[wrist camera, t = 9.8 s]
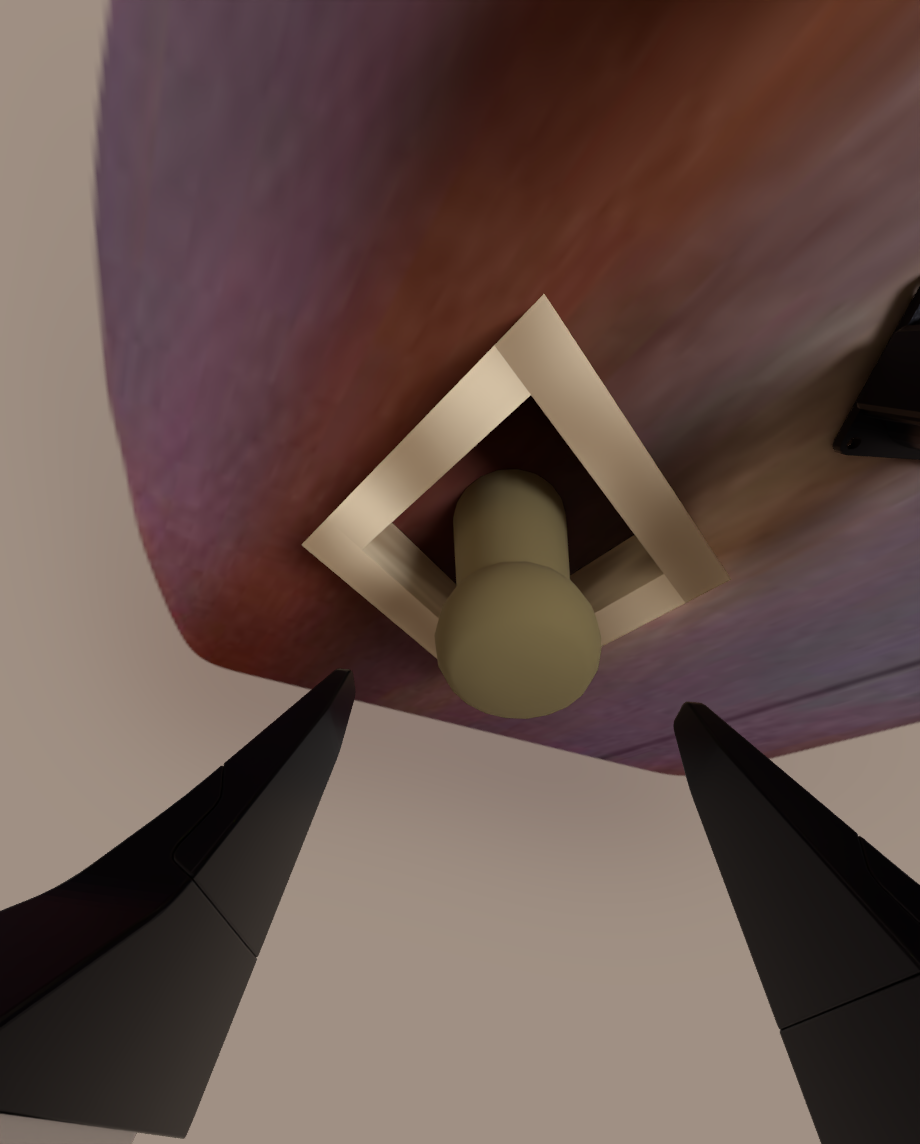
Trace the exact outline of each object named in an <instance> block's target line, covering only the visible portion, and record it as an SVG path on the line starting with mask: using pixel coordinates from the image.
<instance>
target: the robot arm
mask: <svg viewBox="0 0 920 1144" xmlns="http://www.w3.org/2000/svg"><path fill="white" fill-rule="evenodd" d="M852 438H854V439H853V442H852V443H851V444H850V445H849V446H847V443H848V442H849V441H850V440H851V439H852ZM833 449H834V450H835V452H838V453H841V454H845V455H854V456H870V457H886V458H903V459H919V460H920V287H919V289H918V290H917V292H916V294H915V296H914V298H913V299H912V301H911V303H910V305H909V307H908V308H907V310H906V312H905V314H904V316H903V317H902V319H901V321H900V323H899V325H898V327H897V328H896V330H895V332H894V334H893V336H892V337H891V339H890V341H889V343H888V345H887V346H886V348H885V350H884V352H883V354H882V355H881V357H880V359H879V361H878V363H877V364H876V366H875V368H874V370H873V372H872V373H871V375H870V377H869V379H868V381H867V382H866V384H865V386H864V388H863V390H862V392H861V393H860V395H859V397H858V399H857V401H856V402H855V404H854V406H853V408H852V410H851V411H850V413H849V415H848V417H847V419H846V420H845V422H844V424H843V426H842V428H841V429H840V431H839V433H838V435H837V437H836V438H835V440H834V443H833ZM354 698H355V684H354V678H353V672H352V671H351V670H349V669H336V670H334V671H333V672H332V673H331V674H330V675H328V676H327V677H326V678H325V679H324V680H323V681H321V682H320V683H319V684H318V685H317V686H315V687H314V688H313V689H312V690H311V691H309V692H308V693H307V694H306V695H305V696H304V697H302V698H301V699H300V700H299V701H298V702H296V703H295V704H294V705H293V706H292V707H291V708H289V709H288V710H287V711H286V712H285V713H283V714H282V715H281V716H280V717H279V718H277V719H276V720H275V721H274V722H273V723H272V724H270V725H269V726H268V727H267V728H266V729H264V730H263V731H262V732H261V733H260V734H258V735H257V736H256V737H255V738H254V739H252V740H251V741H250V742H249V743H248V744H247V745H245V746H244V747H243V748H242V749H241V750H239V751H238V752H237V753H236V754H235V755H233V756H232V757H231V758H230V759H229V760H228V761H226V762H225V763H224V766H220V767H219V768H218V769H217V770H216V771H214V772H213V773H212V774H211V775H210V776H209V777H207V778H206V779H205V780H204V781H202V782H201V783H200V784H199V785H197V786H196V787H195V788H194V789H192V790H191V791H190V792H189V793H188V794H186V795H185V796H184V797H182V798H181V799H180V800H178V801H177V802H176V803H174V804H173V805H172V806H171V807H169V808H168V809H167V810H165V811H164V812H163V813H161V814H160V815H159V816H157V817H156V818H155V819H153V820H152V821H151V822H149V823H148V824H146V825H145V826H144V827H142V828H141V829H140V830H138V831H137V832H135V833H134V834H133V835H131V836H130V837H128V838H127V839H126V840H124V841H123V842H122V843H120V844H119V845H118V846H116V847H115V848H113V849H112V850H111V851H109V852H108V853H107V854H105V855H104V856H103V857H101V858H100V859H98V860H97V861H96V862H94V863H93V864H91V865H90V866H89V867H87V868H86V869H84V870H83V871H81V872H80V873H78V874H77V875H75V876H74V877H72V878H70V879H69V880H67V881H65V882H64V883H62V884H60V885H58V886H57V887H55V888H53V889H51V890H49V891H47V892H45V893H43V894H41V895H39V896H36V897H34V898H31V899H29V900H26V901H24V902H22V903H19V904H16V905H14V906H11V907H9V908H6V909H4V910H2V911H0V1144H132V1142H133V1140H134V1138H135V1136H136V1134H137V1132H138V1133H145V1134H152V1135H160V1136H167V1137H174V1138H182V1139H184V1138H185V1137H186V1135H187V1133H188V1130H189V1128H190V1126H191V1123H192V1121H193V1118H194V1116H195V1114H196V1111H197V1109H198V1106H199V1104H200V1101H201V1098H202V1096H203V1093H204V1091H205V1088H206V1086H207V1083H208V1081H209V1078H210V1076H211V1073H212V1071H213V1068H214V1066H215V1063H216V1061H217V1058H218V1056H219V1053H220V1051H221V1048H222V1046H223V1043H224V1041H225V1038H226V1036H227V1033H228V1031H229V1028H230V1025H231V1023H232V1021H233V1018H234V1016H235V1013H236V1010H237V1008H238V1006H239V1003H240V1000H241V998H242V995H243V993H244V991H245V988H246V986H247V983H248V980H249V978H250V976H251V973H252V971H253V968H254V966H255V963H256V960H257V958H256V957H258V955H259V953H260V950H261V947H262V945H263V943H264V940H265V938H266V935H267V933H268V930H269V927H270V925H271V923H272V920H273V917H274V915H275V912H276V910H277V907H278V905H279V902H280V900H281V897H282V895H283V892H284V890H285V887H286V885H287V882H288V880H289V877H290V874H291V872H292V870H293V867H294V865H295V862H296V860H297V857H298V855H299V852H300V850H301V847H302V845H303V842H304V840H305V837H306V835H307V832H308V830H309V827H310V825H311V822H312V819H313V817H314V815H315V812H316V810H317V807H318V805H319V802H320V800H321V797H322V795H323V792H324V789H325V787H326V784H327V782H328V780H329V777H330V775H331V772H332V770H333V767H334V764H335V762H336V760H337V757H338V754H339V751H340V748H341V745H342V741H343V738H344V734H345V731H346V727H347V724H348V720H349V716H350V713H351V709H352V706H353V702H354ZM674 732H675V736H676V740H677V744H678V748H679V751H680V755H681V759H682V763H683V767H684V770H685V774H686V778H687V781H688V785H689V788H690V791H691V794H692V797H693V800H694V803H695V805H696V808H697V811H698V813H699V816H700V819H701V821H702V824H703V826H704V829H705V832H706V835H707V837H708V840H709V843H710V845H711V848H712V851H713V854H714V856H715V859H716V862H717V864H718V867H719V870H720V872H721V875H722V877H723V880H724V883H725V885H726V888H727V891H728V894H729V896H730V899H731V902H732V905H733V907H734V910H735V913H736V915H737V918H738V921H739V923H740V926H741V929H742V931H743V934H744V937H745V939H746V942H747V945H748V947H749V950H750V953H751V956H752V958H753V961H754V964H755V966H756V969H757V972H758V974H759V977H760V980H761V982H762V985H763V988H764V990H765V993H766V996H767V999H768V1001H769V1004H770V1007H771V1009H772V1012H773V1014H774V1017H775V1020H776V1023H777V1025H778V1027H779V1029H780V1034H781V1037H782V1040H783V1042H784V1044H785V1047H786V1050H787V1053H788V1055H789V1058H790V1061H791V1064H792V1066H793V1069H794V1072H795V1074H796V1077H797V1080H798V1082H799V1085H800V1088H801V1090H802V1093H803V1096H804V1099H805V1101H806V1104H807V1107H808V1109H809V1112H810V1114H811V1117H812V1120H813V1123H814V1125H815V1128H816V1131H817V1133H818V1136H819V1139H820V1142H821V1144H920V885H919V884H918V883H917V882H915V881H914V880H913V879H912V878H910V877H909V876H908V875H907V874H906V873H904V872H903V871H902V870H901V869H899V868H898V867H897V866H896V865H895V864H893V863H892V862H891V861H890V860H889V859H887V858H886V857H885V856H883V855H882V854H881V853H880V852H879V851H878V850H876V849H875V848H874V847H873V846H872V845H871V844H869V843H868V842H867V841H866V840H865V839H863V838H862V837H860V836H858V834H857V833H856V832H855V831H854V830H853V829H851V828H850V827H849V826H848V825H847V824H845V823H844V822H843V821H842V820H841V819H840V818H838V817H837V816H836V815H834V814H833V813H832V812H831V811H830V810H829V809H828V808H827V807H825V806H824V805H823V804H822V803H820V802H819V801H818V800H817V799H816V798H815V797H814V796H812V795H811V794H810V793H809V792H808V791H806V790H805V789H804V788H803V787H802V786H800V785H799V784H798V783H797V782H796V781H794V780H793V779H792V778H791V777H790V776H789V775H787V774H786V773H785V772H784V771H783V770H782V769H780V768H779V767H778V766H777V765H775V764H774V763H773V762H772V761H771V760H770V759H768V758H767V757H766V756H765V755H764V754H763V753H761V752H760V751H759V750H758V749H757V748H755V747H754V746H753V745H752V744H751V743H749V742H748V741H747V740H746V739H745V738H744V737H742V736H741V735H740V734H739V733H738V732H736V731H735V730H734V729H733V728H732V727H731V726H729V725H728V724H727V723H726V722H725V721H723V720H722V719H721V718H720V717H719V716H717V715H716V714H715V713H714V712H713V711H712V710H710V709H709V708H708V707H707V706H706V705H704V704H702V703H697V702H685V703H684V704H683V705H682V707H681V709H680V711H679V713H678V715H677V716H676V718H675V720H674Z"/></svg>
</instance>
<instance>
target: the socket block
mask: <svg viewBox="0 0 920 1144" xmlns="http://www.w3.org/2000/svg"><path fill="white" fill-rule="evenodd" d="M530 395H531V396H532V397H533V399H534V400H535V401H536V403H537V404H538V405H539V407H540V408H541V409H542V411H543V412H544V413H545V415H546V416H547V417H548V419H549V420H550V421H551V423H552V424H553V425H554V427H555V428H556V430H557V431H558V432H559V434H560V435H561V436H562V438H563V439H564V440H565V442H566V443H567V444H568V446H569V447H570V448H571V450H572V451H573V452H574V454H575V455H576V456H577V458H578V459H579V460H580V462H581V463H582V465H583V466H584V467H585V469H586V470H587V471H588V473H589V474H590V475H591V477H592V478H593V479H594V481H595V482H596V483H597V485H598V486H599V487H600V489H601V490H602V491H603V493H604V494H605V496H606V497H607V498H608V500H609V501H610V502H611V504H612V505H613V506H614V508H615V509H616V510H617V512H618V513H619V514H620V516H621V517H622V518H623V520H624V521H625V522H626V524H627V525H628V526H629V528H630V529H631V531H632V532H633V533H634V535H633V536H632V537H630V538H629V539H627V540H625V541H624V542H622V543H621V544H619V545H618V546H616V547H614V548H613V549H611V550H610V551H608V552H607V553H605V554H603V555H602V556H600V557H599V558H597V559H595V560H594V561H592V562H591V563H589V564H588V565H586V566H584V567H583V568H581V569H580V570H578V571H576V572H575V573H573V574H572V575H570V580H571V581H572V582H573V583H574V584H575V585H576V586H577V588H578V589H579V590H580V591H581V593H582V594H583V595H584V597H585V598H586V599H587V600H588V602H589V603H590V604H591V606H592V608H593V611H594V613H595V616H596V619H597V623H598V627H599V630H600V634H601V647H602V646H604V645H606V644H608V643H610V642H611V641H613V640H615V639H617V638H619V637H621V636H623V635H625V634H627V633H629V632H631V631H633V630H635V629H636V628H638V627H640V626H642V625H644V624H646V623H648V622H650V621H652V620H654V619H656V618H658V617H660V616H662V615H663V614H665V613H667V612H669V611H671V610H673V609H675V608H677V607H679V606H681V605H683V604H685V603H687V602H689V601H690V600H692V599H694V598H696V597H698V596H700V595H702V594H704V593H706V592H708V591H710V590H712V589H714V588H716V587H717V586H719V585H721V584H723V583H725V582H727V581H729V580H731V578H730V577H729V575H728V574H727V572H726V571H725V569H724V568H723V566H722V565H721V563H720V561H719V560H718V558H717V557H716V555H715V554H714V552H713V551H712V549H711V548H710V546H709V545H708V543H707V542H706V540H705V539H704V537H703V536H702V534H701V532H700V531H699V529H698V528H697V526H696V525H695V523H694V522H693V520H692V519H691V517H690V516H689V514H688V513H687V511H686V510H685V508H684V507H683V505H682V503H681V502H680V500H679V499H678V497H677V496H676V494H675V493H674V491H673V490H672V488H671V487H670V485H669V484H668V482H667V481H666V479H665V478H664V476H663V474H662V473H661V471H660V470H659V468H658V467H657V465H656V464H655V462H654V461H653V459H652V458H651V456H650V455H649V453H648V452H647V450H646V448H645V447H644V445H643V444H642V442H641V441H640V439H639V438H638V436H637V435H636V433H635V432H634V430H633V429H632V427H631V426H630V424H629V423H628V421H627V419H626V418H625V416H624V415H623V413H622V412H621V410H620V409H619V407H618V406H617V404H616V403H615V401H614V400H613V398H612V397H611V395H610V394H609V392H608V390H607V389H606V387H605V386H604V384H603V383H602V381H601V380H600V378H599V377H598V375H597V374H596V372H595V371H594V369H593V368H592V366H591V365H590V363H589V361H588V360H587V358H586V357H585V355H584V354H583V352H582V351H581V349H580V348H579V346H578V345H577V343H576V342H575V340H574V339H573V337H572V336H571V334H570V332H569V331H568V329H567V328H566V326H565V325H564V323H563V322H562V320H561V319H560V317H559V316H558V314H557V313H556V311H555V310H554V308H553V307H552V305H551V303H550V302H549V300H548V299H547V297H546V296H545V294H543V295H542V297H541V298H540V299H539V300H538V301H537V302H536V303H535V304H534V305H533V306H532V307H531V308H530V309H529V310H528V311H527V312H526V313H525V314H524V315H523V316H522V317H521V318H520V319H519V320H518V321H517V322H516V323H515V324H514V325H513V327H512V328H511V329H510V330H509V331H508V332H507V333H506V334H505V335H504V336H503V337H502V338H501V339H500V340H499V341H498V342H497V343H496V344H495V345H494V346H493V347H492V348H491V349H490V350H489V351H488V352H487V353H486V354H485V355H484V357H483V358H482V359H481V360H480V361H479V362H478V363H477V364H476V365H475V366H474V367H473V368H472V369H471V370H470V371H469V372H468V373H467V374H466V375H465V376H464V377H463V378H462V379H461V380H460V381H459V382H458V383H457V384H456V385H455V387H454V388H453V389H452V390H451V391H450V392H449V393H448V394H447V395H446V396H445V397H444V398H443V399H442V400H441V401H440V402H439V403H438V404H437V405H436V406H435V407H434V408H433V409H432V410H431V411H430V412H429V413H428V414H427V415H426V417H425V418H424V419H423V420H422V421H421V422H420V423H419V424H418V425H417V426H416V427H415V428H414V429H413V430H412V431H411V432H410V433H409V434H408V435H407V436H406V437H405V438H404V439H403V440H402V441H401V442H400V443H399V444H398V445H397V447H396V448H395V449H394V450H393V451H392V452H391V453H390V454H389V455H388V456H387V457H386V458H385V459H384V460H383V461H382V462H381V463H380V464H379V465H378V466H377V467H376V468H375V469H374V470H373V471H372V472H371V473H370V474H369V475H368V477H367V478H366V479H365V480H364V481H363V482H362V483H361V484H360V485H359V486H358V487H357V488H356V489H355V490H354V491H353V492H352V493H351V494H350V495H349V496H348V497H347V498H346V499H345V500H344V501H343V502H342V503H341V504H340V505H339V507H338V508H337V509H336V510H335V511H334V512H333V513H332V514H331V515H330V516H329V517H328V518H327V519H326V520H325V521H324V522H323V523H322V524H321V525H320V526H319V527H318V528H317V529H316V530H315V531H314V532H313V533H312V534H311V535H310V537H309V538H308V539H307V540H306V541H305V542H304V543H303V544H302V546H303V547H304V548H306V549H307V550H308V551H309V552H310V553H312V554H313V555H314V556H315V557H316V558H318V559H319V560H320V561H321V562H322V563H324V564H325V565H326V566H327V567H328V568H330V569H331V570H332V571H333V572H334V573H335V574H337V575H338V576H339V577H340V578H341V579H343V580H344V581H345V582H346V583H347V584H349V585H350V586H351V587H352V588H353V589H355V590H356V591H357V592H358V593H359V594H361V595H362V596H363V597H364V598H365V599H366V600H368V601H369V602H370V603H371V604H372V605H374V606H375V607H376V608H377V609H378V610H380V611H381V612H382V613H383V614H384V615H386V616H387V617H388V618H389V619H390V620H392V621H393V622H394V623H395V624H396V625H397V626H399V627H400V628H401V629H402V630H403V631H405V632H406V633H407V634H408V635H409V636H411V637H412V638H413V639H414V640H415V641H417V642H418V643H419V644H420V645H421V646H422V647H424V648H425V649H426V650H427V651H428V652H430V653H431V654H432V655H433V656H434V657H436V658H437V653H436V645H435V637H434V635H435V631H436V627H437V623H438V620H439V616H440V613H441V609H442V606H443V604H444V603H445V601H446V600H447V598H448V597H449V596H450V594H451V593H452V592H453V591H454V589H455V588H456V587H457V585H456V584H455V583H454V582H453V581H452V580H451V579H450V578H449V577H448V576H447V575H446V574H445V573H444V572H443V571H442V570H441V569H440V568H439V567H438V566H436V565H435V564H434V563H433V562H432V561H431V560H430V559H429V558H428V557H427V556H426V555H425V554H424V553H423V552H422V551H421V550H420V549H419V548H418V547H417V546H416V545H415V544H414V543H412V542H411V541H410V540H409V539H408V538H407V537H406V536H405V535H404V534H403V533H402V532H401V531H400V530H399V529H398V528H397V527H396V526H395V525H394V524H393V523H392V522H393V521H394V520H395V519H396V518H397V517H398V516H399V515H400V514H401V513H402V512H403V511H405V510H406V509H407V508H408V507H409V506H410V505H411V504H412V503H413V502H414V501H416V500H417V499H418V498H419V497H420V496H421V495H422V494H423V493H424V492H425V491H426V490H428V489H429V488H430V487H431V486H432V485H433V484H434V483H435V482H436V481H437V480H438V479H440V478H441V477H442V476H443V475H444V474H445V473H446V472H447V471H448V470H449V469H451V468H452V467H453V466H454V465H455V464H456V463H457V462H458V461H459V460H460V459H461V458H463V457H464V456H465V455H466V454H467V453H468V452H469V451H470V450H471V449H472V448H473V447H475V446H476V445H477V444H478V443H479V442H480V441H481V440H482V439H483V438H484V437H486V436H487V435H488V434H489V433H490V432H491V431H492V430H493V429H494V428H495V427H496V426H498V425H499V424H500V423H501V422H502V421H503V420H504V419H505V418H506V417H507V416H508V415H510V414H511V413H512V412H513V411H514V410H515V409H516V408H517V407H518V406H519V405H521V404H522V403H523V402H524V401H525V400H526V399H527V398H528V397H529V396H530Z"/></svg>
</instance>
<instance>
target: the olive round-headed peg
mask: <svg viewBox="0 0 920 1144" xmlns="http://www.w3.org/2000/svg"><path fill="white" fill-rule="evenodd" d="M453 528H454V547H455V566H456V585H457V587H456V588H455V589H454V591H453V592H452V593H451V594H450V596H449V597H448V598H447V600H446V601H445V603H444V604H443V606H442V609H441V613H440V616H439V620H438V623H437V627H436V631H435V635H434V637H435V645H436V653H437V660H438V667H439V668H440V670H441V672H442V674H443V675H444V677H445V679H446V681H447V682H448V684H449V686H450V687H451V689H452V690H453V692H454V693H455V694H456V695H458V696H459V697H460V698H461V699H462V700H463V701H464V702H465V703H467V704H468V705H470V706H472V707H474V708H476V709H478V710H480V711H482V712H484V713H487V714H491V715H495V716H499V717H503V718H521V719H528V718H534V717H540V716H545V715H549V714H552V713H554V712H556V711H559V710H561V709H564V708H566V707H568V706H569V705H570V704H571V703H573V702H574V701H575V700H577V699H578V698H579V697H580V696H582V695H583V693H584V692H585V690H586V688H587V687H588V685H589V684H590V682H591V681H592V679H593V677H594V675H595V674H596V672H597V670H598V665H599V660H600V654H601V634H600V630H599V627H598V623H597V619H596V616H595V613H594V611H593V608H592V606H591V604H590V603H589V602H588V600H587V599H586V598H585V597H584V595H583V594H582V593H581V591H580V590H579V589H578V588H577V586H576V585H575V584H574V583H573V582H572V581H571V580H570V570H569V555H568V539H567V523H566V513H565V510H564V506H563V502H562V499H561V497H560V496H559V494H558V493H557V492H556V490H555V489H554V487H553V486H552V485H551V484H550V483H548V482H547V481H546V480H544V479H543V478H541V477H540V476H538V475H537V474H534V473H530V472H527V471H523V470H520V469H508V470H497V471H495V472H492V473H489V474H486V475H484V476H481V477H480V478H479V479H477V480H476V481H475V482H473V483H472V484H471V485H470V486H468V487H467V488H466V490H465V491H464V493H463V494H462V496H461V497H460V499H459V500H458V502H457V505H456V508H455V512H454V516H453Z"/></svg>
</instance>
